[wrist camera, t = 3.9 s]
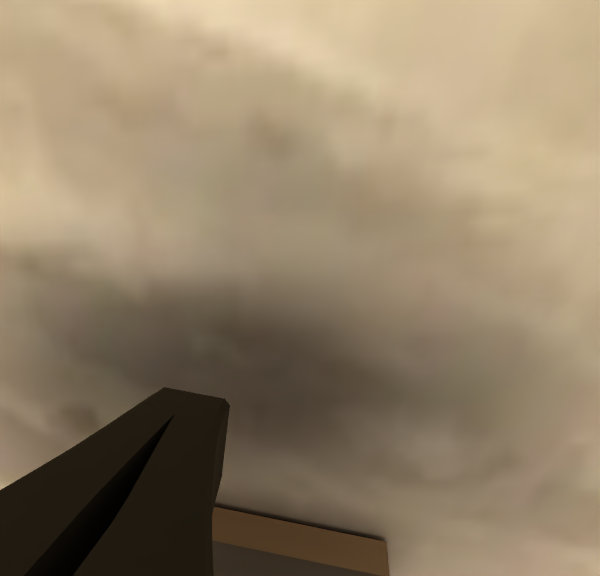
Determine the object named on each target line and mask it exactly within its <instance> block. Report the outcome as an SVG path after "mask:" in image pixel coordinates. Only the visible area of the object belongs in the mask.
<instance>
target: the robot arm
mask: <svg viewBox="0 0 600 576" xmlns="http://www.w3.org/2000/svg"><path fill="white" fill-rule="evenodd" d="M229 407H230V405H229V404H228V403H227V401H226V400H225V399H222V398H217V397H212V396H207V395H201V394H196V393H191V392H186V391H181V390H175V389H170V388H165V387H164V388H162V389H161V390H159V391H158V392H156V393H155V394H153V395H152V396H150V397H148V398H147V399H145V400H144V401H142V402H141V403H139V404H138V405H136V406H135V407H134V408H132V409H131V410H129V411H128V412H126V413H125V414H123V415H122V416H120V417H119V418H117V419H116V420H114V421H113V422H111V423H110V424H108V425H107V426H105V427H104V428H102V429H100V430H99V431H97V432H96V433H94V434H93V435H91V436H90V437H88V438H86V439H85V440H83V441H82V442H80V443H79V444H77V445H76V446H74V447H72V448H71V449H69V450H68V451H66V452H65V453H63V454H61V455H60V456H58V457H56V458H54V459H53V460H51V461H49V462H48V463H46V464H44V465H43V466H41V467H39V468H37V469H36V470H34V471H32V472H31V473H29V474H27V475H26V476H24V477H22V478H20V479H19V480H17V481H15V482H14V483H12V484H10V485H9V486H7V487H5V488H3V489H1V490H0V576H214V572H213V547H212V513H213V509H214V504H215V500H216V496H217V492H218V488H219V485H220V481H221V477H222V468H223V459H224V451H225V442H226V433H227V424H228V415H229Z"/></svg>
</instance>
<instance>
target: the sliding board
mask: <svg viewBox="0 0 600 576" xmlns="http://www.w3.org/2000/svg"><path fill="white" fill-rule="evenodd" d="M212 547H213V572H214V576H390V575H389V565H388V554H387V544H386V542H384V541H379V540H374V539H369V538H364V537H360V536H355V535H350V534H345V533H340V532H335V531H330V530H325V529H321V528H316V527H311V526H306V525H301V524H296V523H291V522H286V521H282V520H277V519H272V518H267V517H262V516H257V515H252V514H247V513H243V512H238V511H233V510H228V509H223V508H218V507H214V509H213V513H212Z"/></svg>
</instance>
